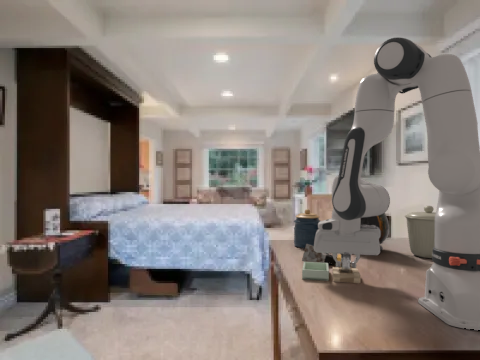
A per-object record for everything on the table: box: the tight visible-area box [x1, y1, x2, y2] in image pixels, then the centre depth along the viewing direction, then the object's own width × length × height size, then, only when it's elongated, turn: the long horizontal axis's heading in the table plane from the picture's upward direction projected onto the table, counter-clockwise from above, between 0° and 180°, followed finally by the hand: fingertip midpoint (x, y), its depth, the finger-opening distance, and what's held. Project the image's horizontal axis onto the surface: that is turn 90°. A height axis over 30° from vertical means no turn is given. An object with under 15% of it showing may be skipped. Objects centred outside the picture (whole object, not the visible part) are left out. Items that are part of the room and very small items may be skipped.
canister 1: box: [293, 208, 321, 249], centre depth 168 cm, size 13×13×18 cm
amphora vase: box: [361, 212, 390, 253], centre depth 158 cm, size 22×22×28 cm
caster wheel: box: [301, 244, 337, 266], centre depth 133 cm, size 7×11×10 cm
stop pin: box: [340, 252, 353, 273], centre depth 112 cm, size 4×4×9 cm
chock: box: [337, 253, 341, 268], centre depth 127 cm, size 6×4×4 cm, turn 162°
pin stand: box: [332, 266, 361, 284], centre depth 112 cm, size 8×8×2 cm
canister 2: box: [404, 205, 436, 259], centre depth 146 cm, size 18×18×21 cm
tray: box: [301, 262, 330, 282], centre depth 116 cm, size 11×8×3 cm
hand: (345, 267), depth 112 cm, fingers closed on stop pin, 3 cm apart
